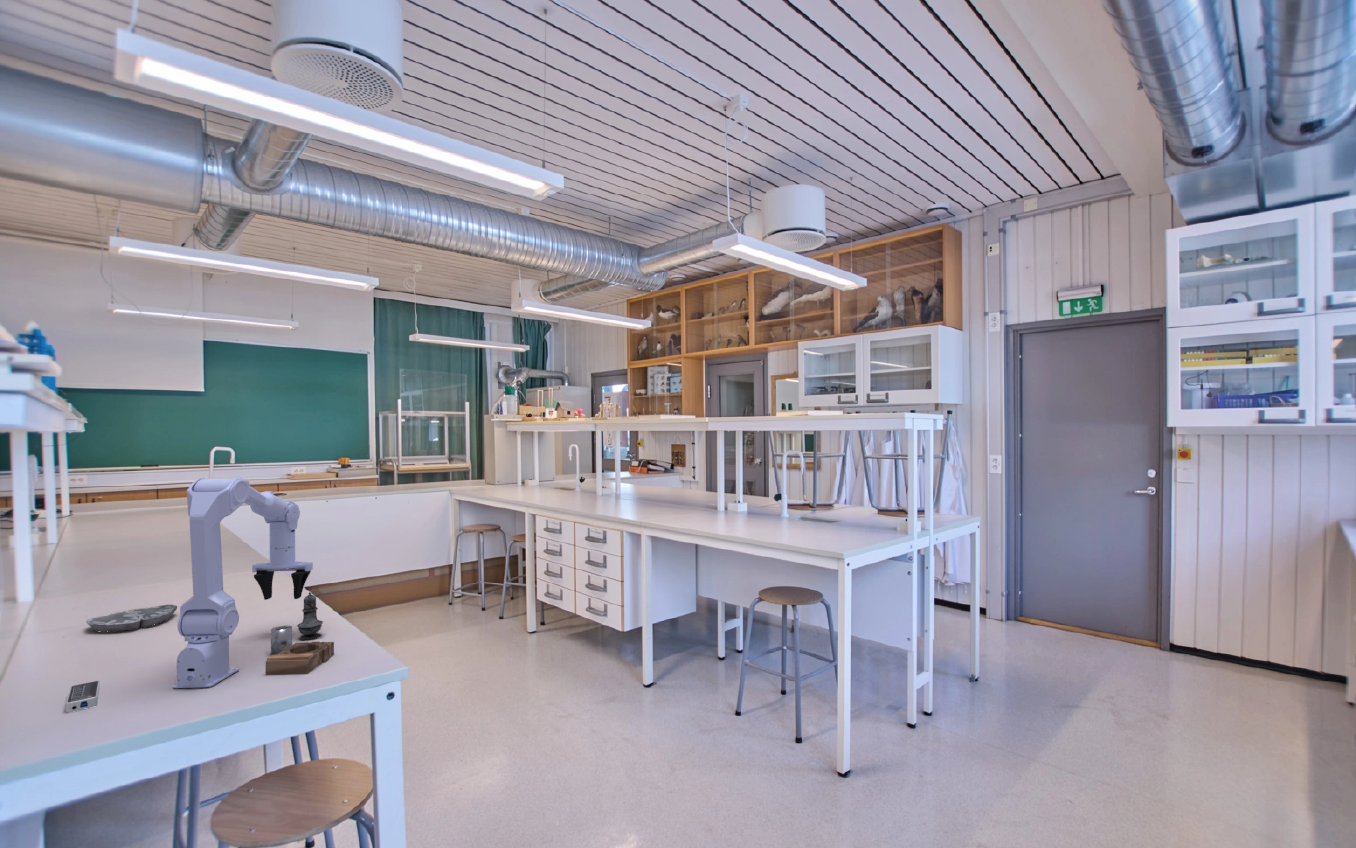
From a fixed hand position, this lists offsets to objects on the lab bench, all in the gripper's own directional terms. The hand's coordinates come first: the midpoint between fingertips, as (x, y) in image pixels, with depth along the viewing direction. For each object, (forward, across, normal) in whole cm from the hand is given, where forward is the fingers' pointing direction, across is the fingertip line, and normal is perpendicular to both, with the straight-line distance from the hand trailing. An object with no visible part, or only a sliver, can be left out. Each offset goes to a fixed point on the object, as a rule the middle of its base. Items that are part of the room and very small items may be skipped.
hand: (282, 598), depth 165 cm
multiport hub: (+11, +18, +37) cm, 43 cm away
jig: (+10, -16, +20) cm, 28 cm away
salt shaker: (+10, -8, +2) cm, 13 cm away
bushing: (+10, -7, +12) cm, 17 cm away
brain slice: (+10, +48, -14) cm, 51 cm away
